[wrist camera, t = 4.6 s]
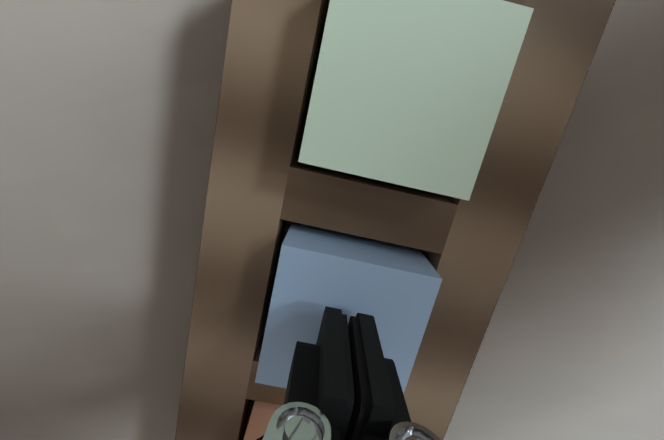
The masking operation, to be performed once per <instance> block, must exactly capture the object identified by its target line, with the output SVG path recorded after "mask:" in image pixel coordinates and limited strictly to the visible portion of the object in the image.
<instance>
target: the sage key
mask: <svg viewBox="0 0 664 440" xmlns="http://www.w3.org/2000/svg"><path fill="white" fill-rule="evenodd" d="M533 10H534V8H530V7H526V6H523V5H519V4H515V3H511V2H508V1H504V0H330V3H329V8H328V13H327V18H326V23H325V28H324V33H323V38H322V43H321V48H320V53H319V59H318V64H317V69H316V74H315V79H314V84H313V89H312V94H311V99H310V104H309V109H308V114H307V119H306V125H305V130H304V135H303V140H302V145H301V150H300V155H299V160H298V162H300V163H305V164H309V165H314V166H318V167H322V168H327V169H331V170H336V171H340V172H344V173H349V174H353V175H358V176H362V177H366V178H371V179H375V180H380V181H384V182H388V183H393V184H397V185H402V186H406V187H410V188H415V189H419V190H424V191H428V192H432V193H437V194H441V195H446V196H450V197H454V198H459V199H463V200H468V201H469V199H470V196H471V193H472V190H473V187H474V184H475V181H476V179H477V176H478V173H479V170H480V167H481V164H482V161H483V158H484V155H485V152H486V149H487V146H488V143H489V140H490V137H491V134H492V131H493V128H494V125H495V122H496V119H497V116H498V114H499V111H500V108H501V105H502V102H503V99H504V96H505V93H506V90H507V87H508V84H509V81H510V78H511V75H512V72H513V69H514V66H515V63H516V60H517V57H518V54H519V51H520V49H521V46H522V43H523V40H524V37H525V34H526V31H527V28H528V25H529V22H530V19H531V16H532V13H533Z"/></svg>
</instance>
